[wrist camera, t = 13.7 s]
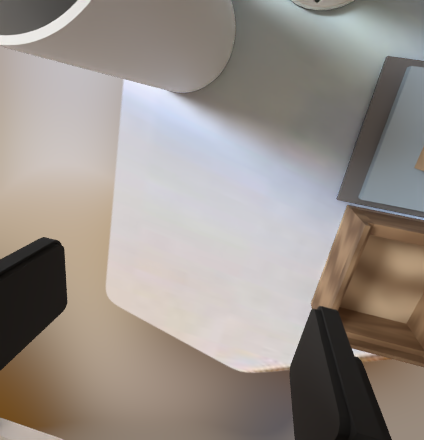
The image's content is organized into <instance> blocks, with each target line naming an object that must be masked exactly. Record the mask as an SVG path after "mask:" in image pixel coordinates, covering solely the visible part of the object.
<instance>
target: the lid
mask: <svg viewBox="0 0 424 440" xmlns="http://www.w3.org/2000/svg"><path fill="white" fill-rule="evenodd" d="M358 198H360V199H361V200H366V201H371V202H376V203H381V204H386V205H391V206H396V207H402V208H407V209H412V210H417V211H422V212H424V67H416V66H410V67H407V69H406V72H405V74H404V77H403V80H402V82H401V85H400V88H399V90H398V93H397V95H396V98H395V101H394V103H393V106H392V109H391V111H390V114H389V117H388V119H387V122H386V125H385V127H384V130H383V133H382V135H381V138H380V141H379V143H378V146H377V149H376V151H375V154H374V157H373V159H372V162H371V165H370V167H369V170H368V173H367V175H366V178H365V181H364V183H363V186H362V189H361V191H360V194H359V197H358Z"/></svg>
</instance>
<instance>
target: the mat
mask: <svg viewBox="0 0 424 440" xmlns="http://www.w3.org/2000/svg"><path fill="white" fill-rule="evenodd" d="M410 66H416V67H424V61H420V60H413V59H405V58H398V57H390V56H387V57H386V59H385V62H384V65H383V68H382V70H381V73H380V76H379V79H378V82H377V85H376V88H375V90H374V93H373V96H372V99H371V102H370V105H369V108H368V110H367V113H366V116H365V119H364V122H363V125H362V128H361V131H360V133H359V136H358V139H357V142H356V145H355V148H354V151H353V153H352V156H351V159H350V162H349V165H348V168H347V171H346V173H345V176H344V179H343V182H342V185H341V188H340V191H339V194H338V196H337V200H341V201H346V202H351V203H356V204H361V205H366V206H371V207H376V208H381V209H386V210H391V211H396V212H401V213H405V214H410V215H415V216H420V217H424V212H422V211H417V210H412V209H407V208H402V207H396V206H391V205H386V204H381V203H376V202H371V201H366V200H361V199H360V198H358V197H359V194H360V191H361V189H362V186H363V183H364V181H365V178H366V175H367V173H368V170H369V167H370V165H371V162H372V159H373V157H374V154H375V151H376V149H377V146H378V143H379V141H380V138H381V135H382V133H383V130H384V127H385V125H386V122H387V119H388V117H389V114H390V111H391V109H392V106H393V103H394V101H395V98H396V95H397V93H398V90H399V88H400V85H401V82H402V80H403V77H404V74H405V72H406V69H407V67H410Z"/></svg>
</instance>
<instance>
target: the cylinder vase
mask: <svg viewBox="0 0 424 440" xmlns="http://www.w3.org/2000/svg"><path fill="white" fill-rule="evenodd" d="M235 33H236V21H235V13H234V9H233V5H232V2H231V0H0V47H4V48H7V49H11V50H15V51H19V52H23V53H27V54H31V55H34V56H38V57H42V58H46V59H50V60H54V61H58V62H61V63H65V64H69V65H72V66H77V67H80V68H84V69H88V70H92V71H95V72H99V73H103V74H107V75H111V76H115V77H119V78H122V79H126V80H130V81H134V82H137V83H141V84H145V85H149V86H153V87H157V88H160V89H164V90H168V91H172V92H178V93H187V92H193V91H196V90H199V89H201V88H203V87H205V86H207V85H208V84H210V83H211V82H212V81H214V80H215V79H216V78H217V77H218V76H219V74H220V73H221V72H222V71H223V69H224V68H225V66H226V64H227V62H228V60H229V58H230V56H231V53H232V50H233V46H234V41H235Z"/></svg>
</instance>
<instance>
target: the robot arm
mask: <svg viewBox="0 0 424 440" xmlns="http://www.w3.org/2000/svg"><path fill="white" fill-rule="evenodd" d="M291 1H292V2H294V3H295V4H297V5H299V6H302V7H304V8H306V9H312V10H331V9H335V8H339V7H342V6H344V5H346V4H349V3H351V2H353V1H355V0H319V2H318V3H316V2H315V0H291ZM66 305H67V289H66V271H65V255H64V247H63V246H62V245H61V243H60V242H59V241H58V240H53V239H49V238H45V237H43V238H40V239H38V240H36V241H34V242H32V243H31V244H29V245H27V246H25V247H23V248H21V249H19V250H17V251H16V252H14V253H12V254H10V255H8V256H6V257H4V258H2V259H0V370H2V369H3V368H4V367H5V366H6V365H7V364H8V363H9V362H10V361H11V360H12V359H13V358H14V357H15V356H16V355H17V354H18V353H20V352H21V351H22V350H23V349H24V348H25V347H26V346H27V345H28V344H29V343H30V342H31V341H32V340H33V339H34V338H35V337H36V336H37V335H39V334H40V333H41V332H42V331H43V330H44V329H45V328H46V327H47V326H48V325H49V324H50V323H51V322H52V321H53V320H54V319H55V318H56V317H58V315H60V314H61V313H62V312H63V310H64V309H65V308H66ZM290 385H291V398H292V411H293V423H294V435H295V440H392V439H391V436H390V434H389V431H388V429H387V426H386V423H385V421H384V418H383V416H382V413H381V410H380V408H379V405H378V402H377V400H376V397H375V395H374V392H373V389H372V387H371V384H370V381H369V379H368V376H367V373H366V371H365V368H364V366H363V363H362V361H361V360H360V359H359V358H358V357H354V354H353V351H352V348H351V346H350V343H349V340H348V337H347V334H346V332H345V329H344V326H343V323H342V320H341V318H340V315H339V312H338V311H337V310H335V309H331V308H327V307H323V306H319V307H318V308H317V309H312V310H311V312H310V315H309V317H308V320H307V323H306V325H305V328H304V331H303V333H302V336H301V339H300V341H299V344H298V347H297V349H296V352H295V355H294V357H293V360H292V363H291V366H290ZM0 440H63V439H61V438H57V437H55V436H52V435H49V434H46V433H43V432H40V431H37V430H34V429H32V428H28V427H26V426H23V425H19V424H17V423H14V422H11V421H8V420H5V419H2V418H0Z"/></svg>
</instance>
